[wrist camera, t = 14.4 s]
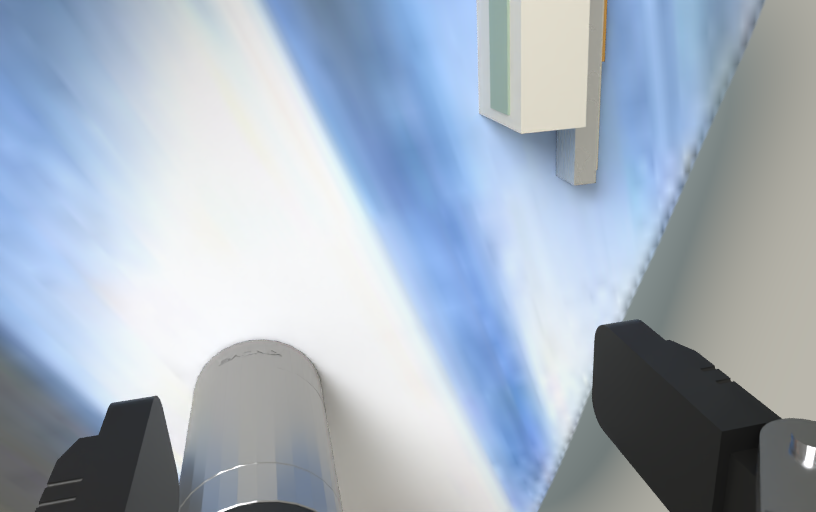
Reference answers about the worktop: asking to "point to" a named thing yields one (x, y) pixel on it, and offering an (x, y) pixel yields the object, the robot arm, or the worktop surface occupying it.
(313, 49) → the worktop surface
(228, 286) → the worktop surface
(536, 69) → the product carton
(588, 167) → the rail
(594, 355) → the robot arm
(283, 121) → the worktop surface
